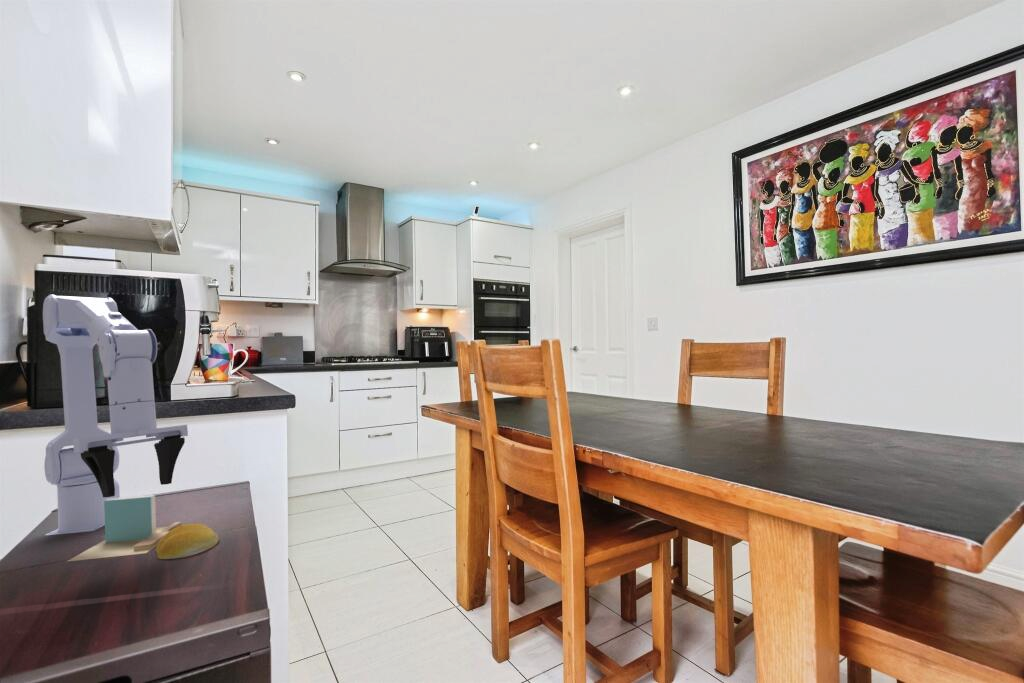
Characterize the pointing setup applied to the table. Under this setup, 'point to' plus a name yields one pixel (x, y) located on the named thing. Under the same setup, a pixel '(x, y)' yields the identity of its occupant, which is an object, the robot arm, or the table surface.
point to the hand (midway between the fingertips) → (138, 490)
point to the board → (112, 549)
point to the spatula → (154, 538)
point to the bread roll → (186, 541)
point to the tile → (129, 518)
